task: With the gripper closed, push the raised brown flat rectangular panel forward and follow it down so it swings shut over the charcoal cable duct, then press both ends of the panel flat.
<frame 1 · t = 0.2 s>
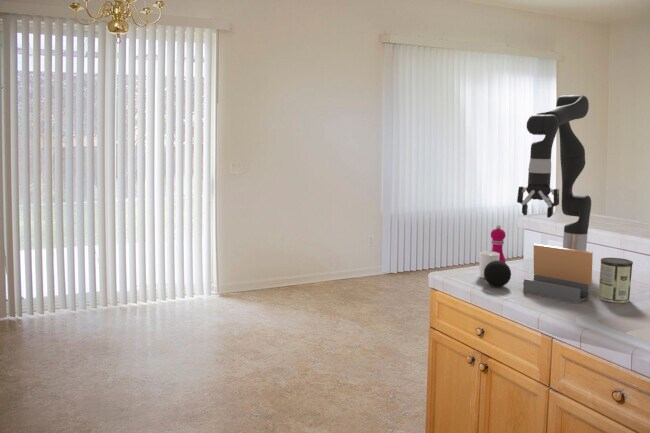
hand: (536, 216, 215), 29 cm above the counter, tool pointing down, fingers open, 8 cm apart
white cup: (488, 277, 242), on the counter
speaker: (496, 286, 228), on the counter
pepper mill: (495, 272, 251), on the counter
brown flat rectangular panel: (562, 263, 218), point 11 cm above the counter, hinge at 80.0°
coffee can: (613, 299, 213), on the counter
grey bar: (555, 294, 217), resting on cable duct
cable duct: (555, 294, 217), on the counter
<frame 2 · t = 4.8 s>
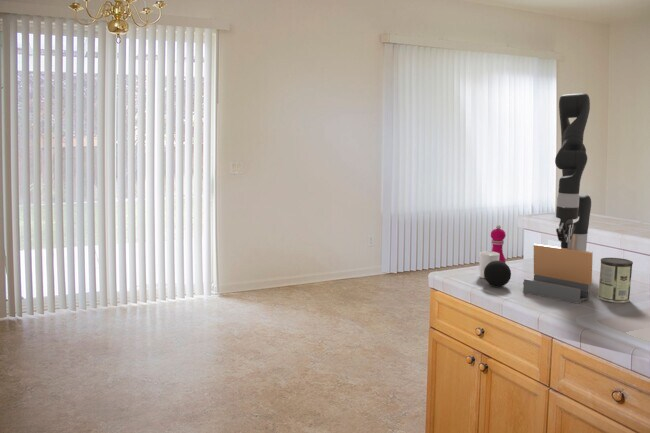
hand: (564, 252, 219), 15 cm above the counter, tool pointing down, fingers closed
brown flat rectangular panel: (562, 263, 218), point 11 cm above the counter, hinge at 80.0°, touching gripper
everything else where it was.
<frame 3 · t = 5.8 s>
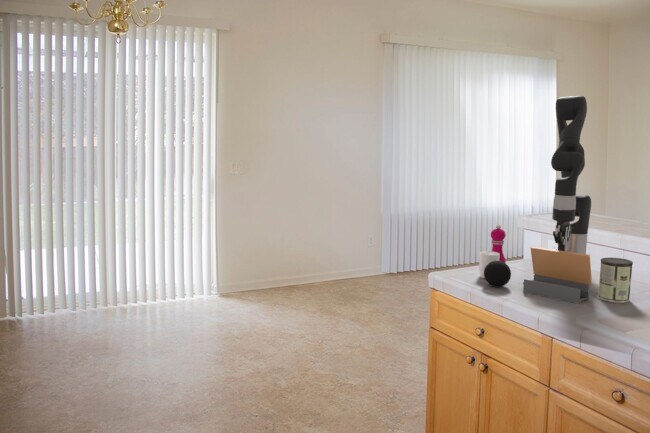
hand: (561, 254, 217), 15 cm above the counter, tool pointing down, fingers closed
brown flat rectangular panel: (560, 265, 218), point 11 cm above the counter, hinge at 66.5°, touching cable duct, gripper
everything else where it was.
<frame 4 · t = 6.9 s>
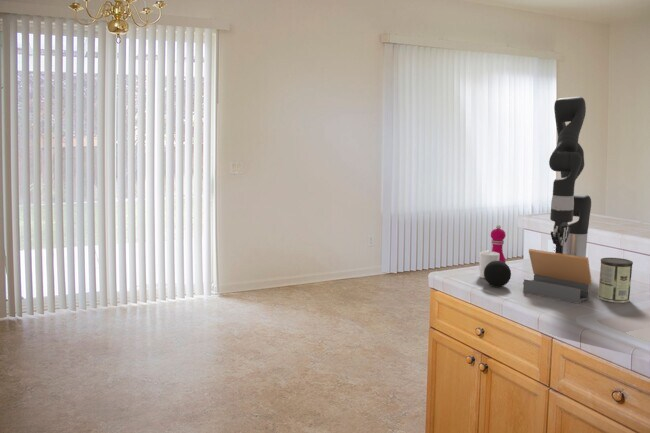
hand: (558, 255, 215), 15 cm above the counter, tool pointing down, fingers closed
brown flat rectangular panel: (559, 266, 217), point 10 cm above the counter, hinge at 57.8°, touching gripper
everything else where it was.
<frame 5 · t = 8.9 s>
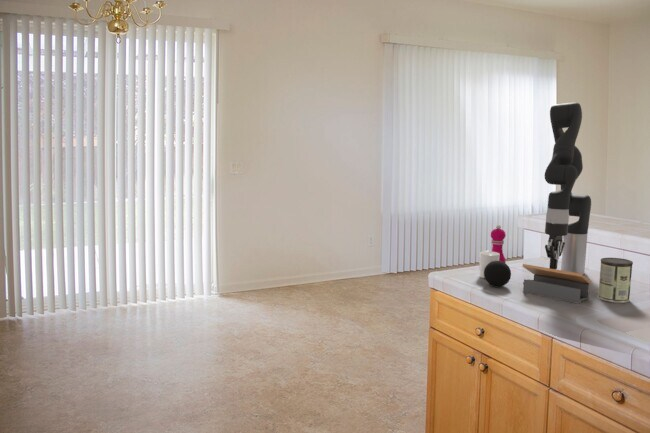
hand: (553, 269, 212), 10 cm above the counter, tool pointing down, fingers closed
brown flat rectangular panel: (556, 274, 215), point 8 cm above the counter, hinge at 23.9°, touching gripper
everything else where it was.
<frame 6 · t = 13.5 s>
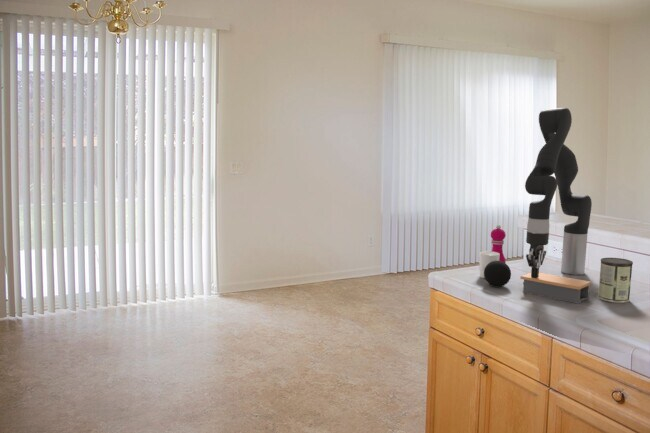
hand: (534, 277, 216), 6 cm above the counter, tool pointing down, fingers closed
brown flat rectangular panel: (555, 280, 215), point 6 cm above the counter, hinge at 2.0°, touching gripper
everything else where it was.
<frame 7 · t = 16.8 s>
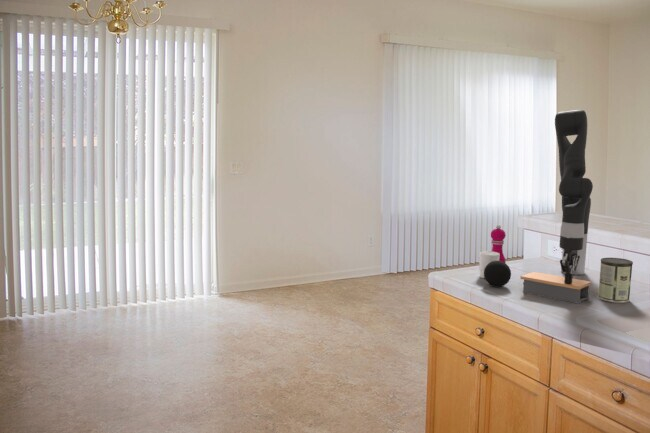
hand: (568, 283, 208), 6 cm above the counter, tool pointing down, fingers closed
nothing on the counter moved.
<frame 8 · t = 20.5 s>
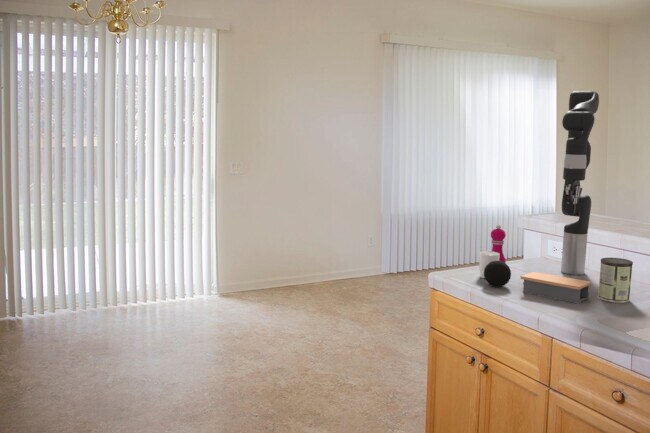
hand: (571, 213, 220), 29 cm above the counter, tool pointing down, fingers closed
brown flat rectangular panel: (555, 280, 215), point 6 cm above the counter, hinge at 2.0°
everything else where it was.
at the end: brown flat rectangular panel at +2° (first picture: +80°) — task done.
